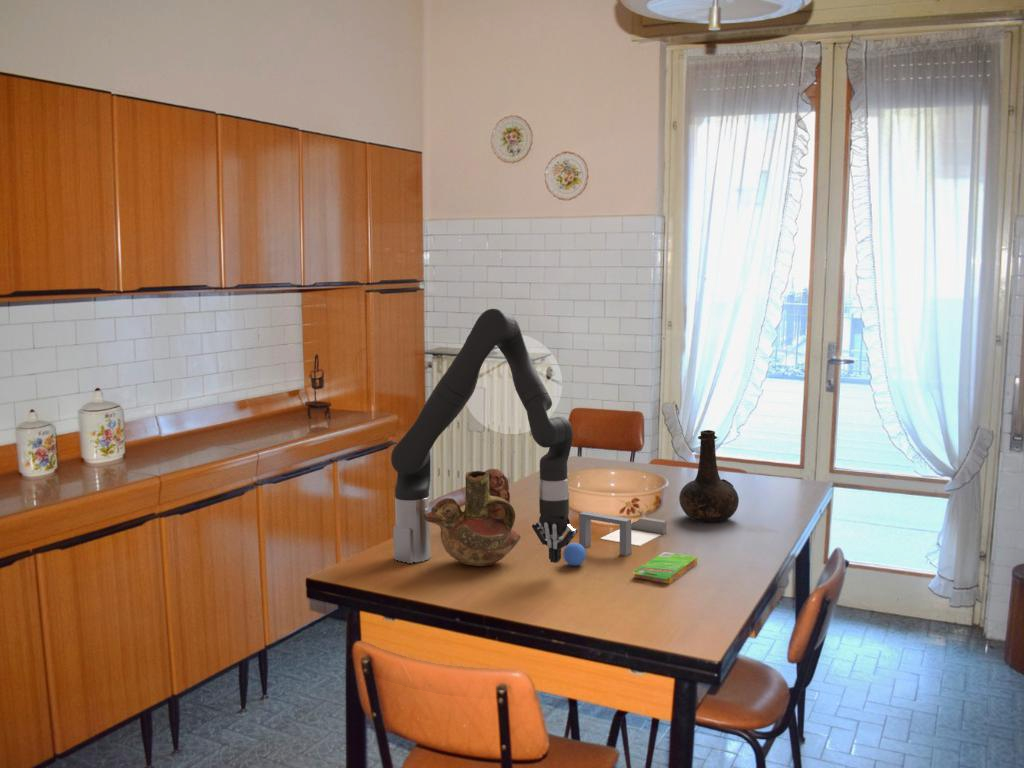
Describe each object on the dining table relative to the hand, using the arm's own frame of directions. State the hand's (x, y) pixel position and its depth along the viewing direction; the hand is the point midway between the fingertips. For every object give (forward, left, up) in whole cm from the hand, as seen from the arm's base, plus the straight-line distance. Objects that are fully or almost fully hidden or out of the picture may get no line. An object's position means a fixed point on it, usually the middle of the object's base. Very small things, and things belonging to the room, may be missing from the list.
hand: (555, 561), depth 238 cm
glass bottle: (+71, -11, -4) cm, 72 cm away
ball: (+10, 0, -1) cm, 10 cm away
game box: (+19, -22, -4) cm, 29 cm away
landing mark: (+41, 0, -4) cm, 41 cm away
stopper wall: (+50, 0, -4) cm, 50 cm away
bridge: (+26, 0, -4) cm, 26 cm away
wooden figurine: (+28, +40, -4) cm, 49 cm away
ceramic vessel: (-4, +23, -4) cm, 24 cm away
